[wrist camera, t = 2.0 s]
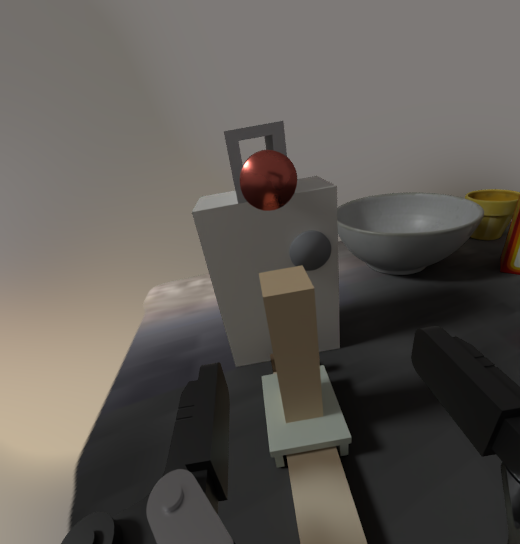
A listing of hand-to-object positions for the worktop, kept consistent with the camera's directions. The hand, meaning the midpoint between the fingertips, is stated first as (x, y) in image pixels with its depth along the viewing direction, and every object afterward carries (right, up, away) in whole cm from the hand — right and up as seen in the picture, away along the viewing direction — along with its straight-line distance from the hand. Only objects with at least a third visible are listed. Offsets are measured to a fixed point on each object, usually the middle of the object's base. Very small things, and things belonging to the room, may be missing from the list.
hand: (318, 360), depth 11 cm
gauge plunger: (-2, +11, +15) cm, 19 cm away
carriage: (+3, -14, +20) cm, 25 cm away
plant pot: (+52, +12, +53) cm, 75 cm away
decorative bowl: (+28, +6, +49) cm, 57 cm away
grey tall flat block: (+2, -8, +32) cm, 33 cm away
